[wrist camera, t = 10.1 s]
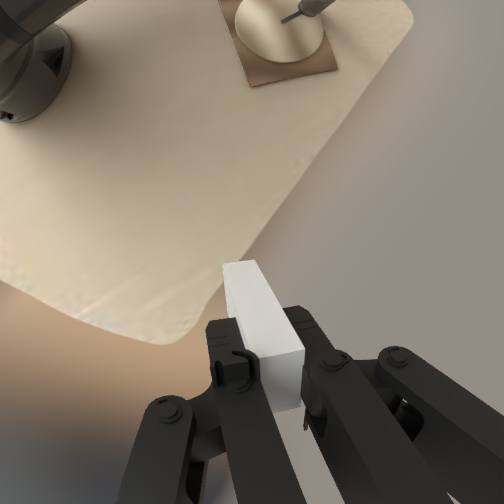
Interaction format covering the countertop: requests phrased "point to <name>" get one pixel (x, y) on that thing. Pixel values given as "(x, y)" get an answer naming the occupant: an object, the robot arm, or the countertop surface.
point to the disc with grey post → (281, 28)
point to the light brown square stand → (271, 71)
